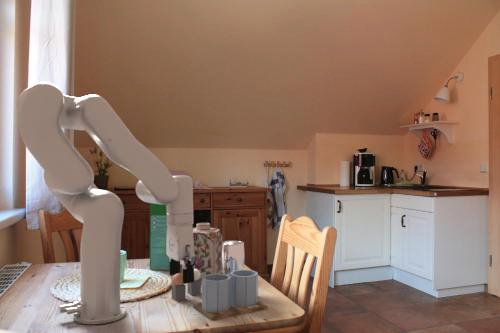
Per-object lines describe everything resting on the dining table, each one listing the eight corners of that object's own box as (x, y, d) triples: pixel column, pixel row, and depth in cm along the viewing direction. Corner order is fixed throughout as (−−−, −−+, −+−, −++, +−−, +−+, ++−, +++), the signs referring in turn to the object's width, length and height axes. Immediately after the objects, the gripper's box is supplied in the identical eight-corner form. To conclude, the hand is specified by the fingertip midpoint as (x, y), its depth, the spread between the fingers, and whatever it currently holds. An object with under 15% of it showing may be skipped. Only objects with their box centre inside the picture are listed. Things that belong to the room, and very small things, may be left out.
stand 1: (175, 301, 118) (175, 287, 118) (171, 298, 121) (171, 284, 121) (185, 299, 120) (185, 285, 120) (181, 296, 122) (181, 282, 122)
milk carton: (174, 269, 153) (175, 200, 152) (149, 269, 153) (150, 200, 153) (178, 264, 162) (179, 198, 161) (155, 263, 162) (156, 198, 162)
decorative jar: (215, 281, 139) (215, 226, 139) (181, 279, 141) (181, 225, 140) (223, 272, 151) (223, 221, 150) (191, 270, 152) (192, 220, 152)
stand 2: (191, 295, 123) (191, 281, 123) (187, 292, 126) (187, 279, 126) (200, 293, 125) (201, 280, 125) (196, 291, 127) (196, 278, 127)
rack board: (211, 320, 104) (211, 315, 104) (193, 307, 113) (193, 303, 113) (267, 308, 113) (267, 304, 113) (245, 297, 122) (246, 293, 122)
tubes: (210, 314, 106) (210, 282, 106) (198, 306, 112) (198, 275, 112) (262, 304, 114) (262, 274, 114) (247, 296, 120) (248, 268, 120)
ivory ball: (191, 283, 123) (191, 270, 123) (186, 280, 126) (186, 268, 126) (202, 281, 125) (202, 269, 125) (197, 278, 128) (197, 266, 128)
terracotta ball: (175, 288, 118) (175, 275, 118) (170, 285, 121) (170, 272, 121) (187, 286, 119) (187, 273, 119) (182, 283, 123) (182, 271, 123)
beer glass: (241, 296, 122) (241, 245, 122) (218, 295, 124) (218, 244, 124) (246, 290, 129) (246, 241, 129) (224, 288, 131) (224, 240, 131)
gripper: (156, 216, 125) (158, 273, 126) (179, 224, 111) (181, 288, 111) (180, 214, 129) (181, 269, 130) (205, 221, 115) (206, 283, 115)
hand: (181, 278), depth 121 cm, fingers open, 9 cm apart
